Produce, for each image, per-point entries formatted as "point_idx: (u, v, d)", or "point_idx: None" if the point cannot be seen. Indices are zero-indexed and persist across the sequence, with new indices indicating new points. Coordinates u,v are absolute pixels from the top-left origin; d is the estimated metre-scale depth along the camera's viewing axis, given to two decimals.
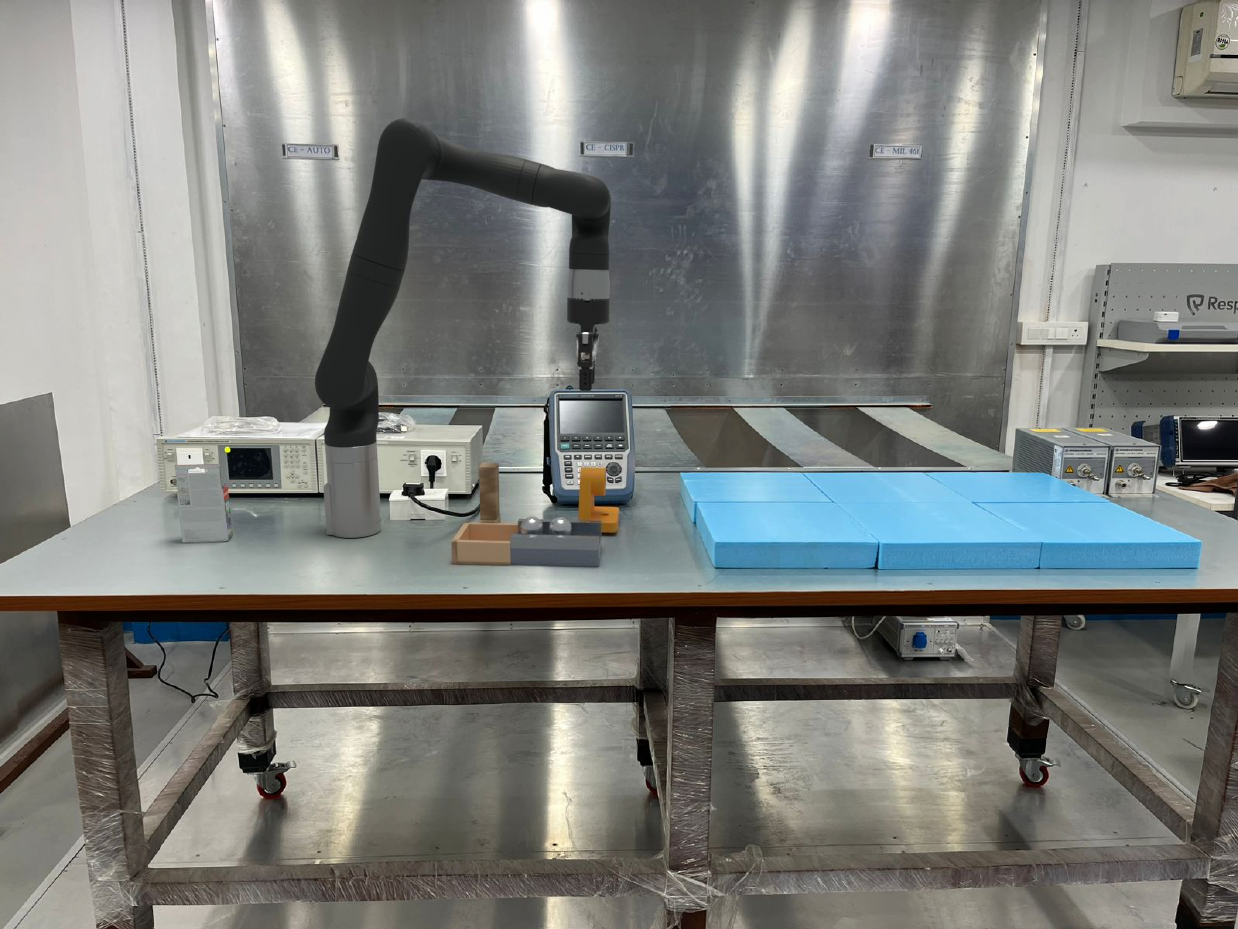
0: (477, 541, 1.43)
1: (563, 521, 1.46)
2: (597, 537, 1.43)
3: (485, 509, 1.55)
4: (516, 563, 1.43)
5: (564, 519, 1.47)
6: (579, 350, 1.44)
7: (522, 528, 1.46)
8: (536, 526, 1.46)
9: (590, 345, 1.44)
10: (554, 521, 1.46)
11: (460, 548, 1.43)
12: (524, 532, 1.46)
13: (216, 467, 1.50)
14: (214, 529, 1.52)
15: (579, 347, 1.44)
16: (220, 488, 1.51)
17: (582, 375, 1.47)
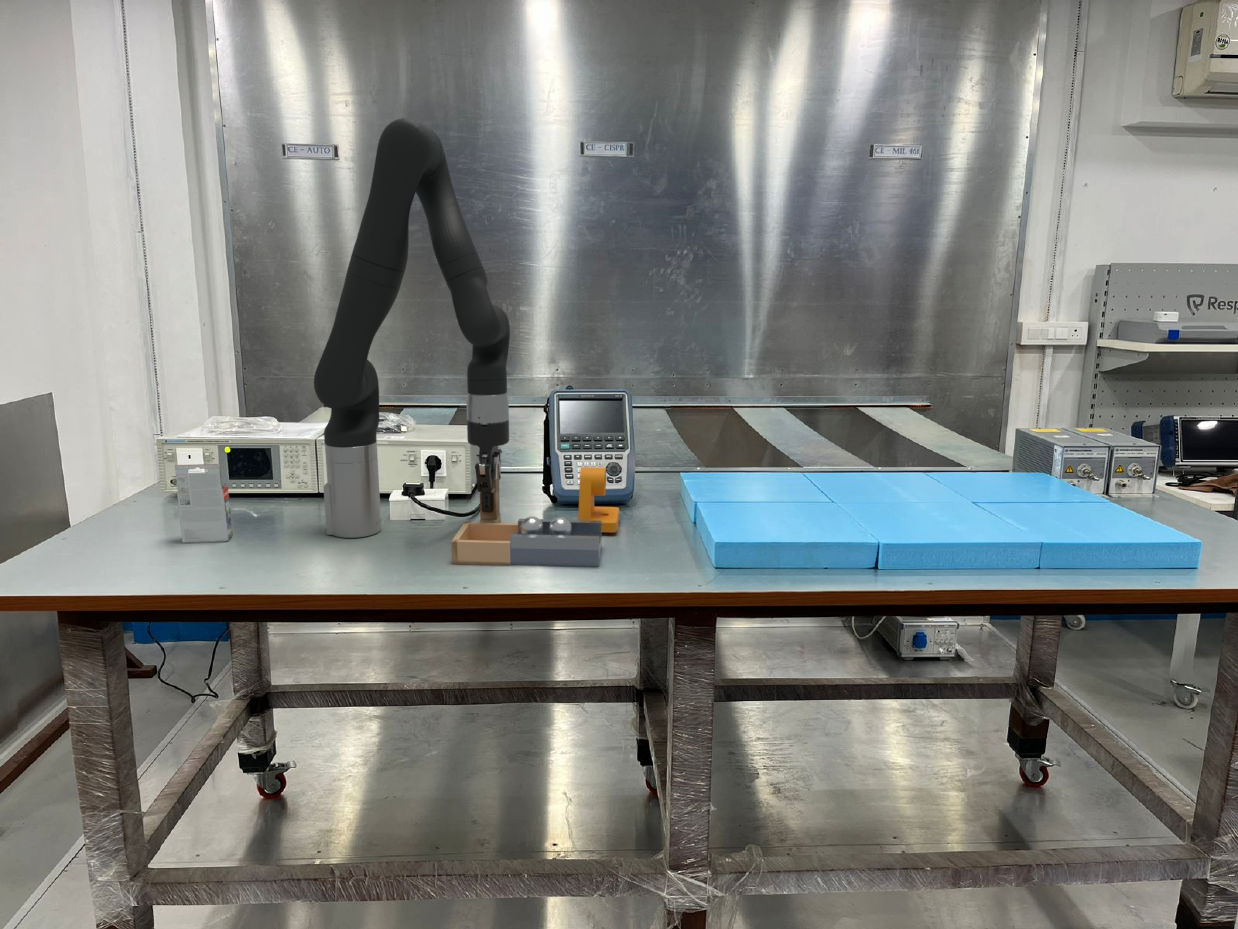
0: (477, 541, 1.43)
1: (563, 521, 1.46)
2: (597, 537, 1.43)
3: None
4: (516, 563, 1.43)
5: (564, 519, 1.47)
6: (478, 480, 1.49)
7: (522, 528, 1.46)
8: (536, 526, 1.46)
9: (488, 476, 1.49)
10: (554, 521, 1.46)
11: (460, 548, 1.43)
12: (524, 532, 1.46)
13: (216, 467, 1.50)
14: (214, 529, 1.52)
15: (477, 478, 1.49)
16: (220, 488, 1.51)
17: (483, 498, 1.53)
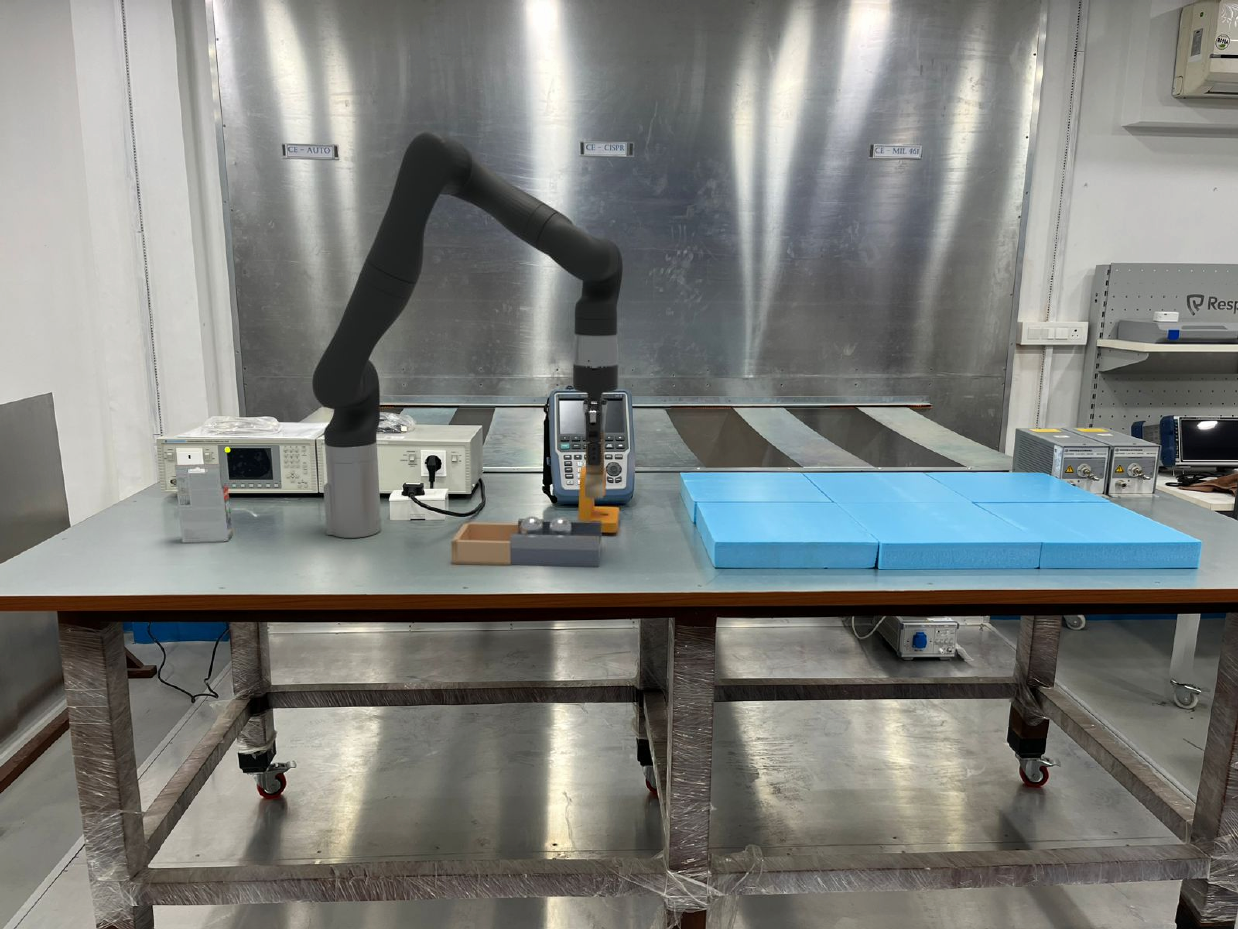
0: (477, 541, 1.43)
1: (563, 521, 1.46)
2: (597, 537, 1.43)
3: None
4: (516, 563, 1.43)
5: (564, 519, 1.47)
6: (587, 429, 1.37)
7: (522, 528, 1.46)
8: (536, 526, 1.46)
9: (598, 424, 1.37)
10: (554, 521, 1.46)
11: (460, 548, 1.43)
12: (524, 532, 1.46)
13: (216, 467, 1.50)
14: (214, 529, 1.52)
15: (587, 426, 1.37)
16: (220, 488, 1.51)
17: (590, 450, 1.41)
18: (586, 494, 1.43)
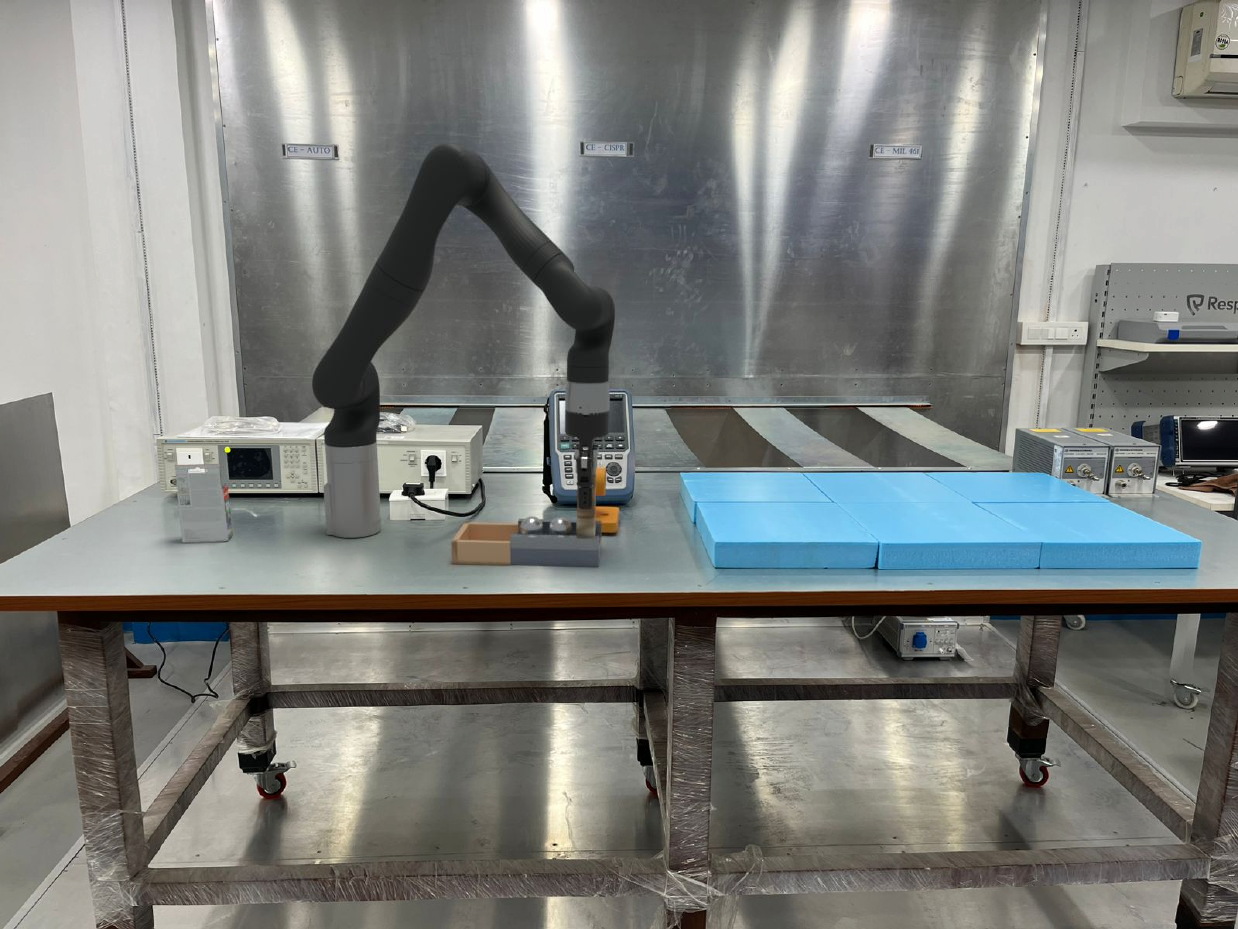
0: (477, 541, 1.43)
1: (563, 521, 1.46)
2: (597, 537, 1.43)
3: None
4: (516, 563, 1.43)
5: (564, 519, 1.47)
6: (578, 474, 1.39)
7: (522, 528, 1.46)
8: (536, 526, 1.46)
9: (589, 470, 1.39)
10: (554, 521, 1.46)
11: (460, 548, 1.43)
12: (524, 532, 1.46)
13: (216, 467, 1.50)
14: (214, 529, 1.52)
15: (578, 472, 1.39)
16: (220, 488, 1.51)
17: (582, 494, 1.43)
18: None
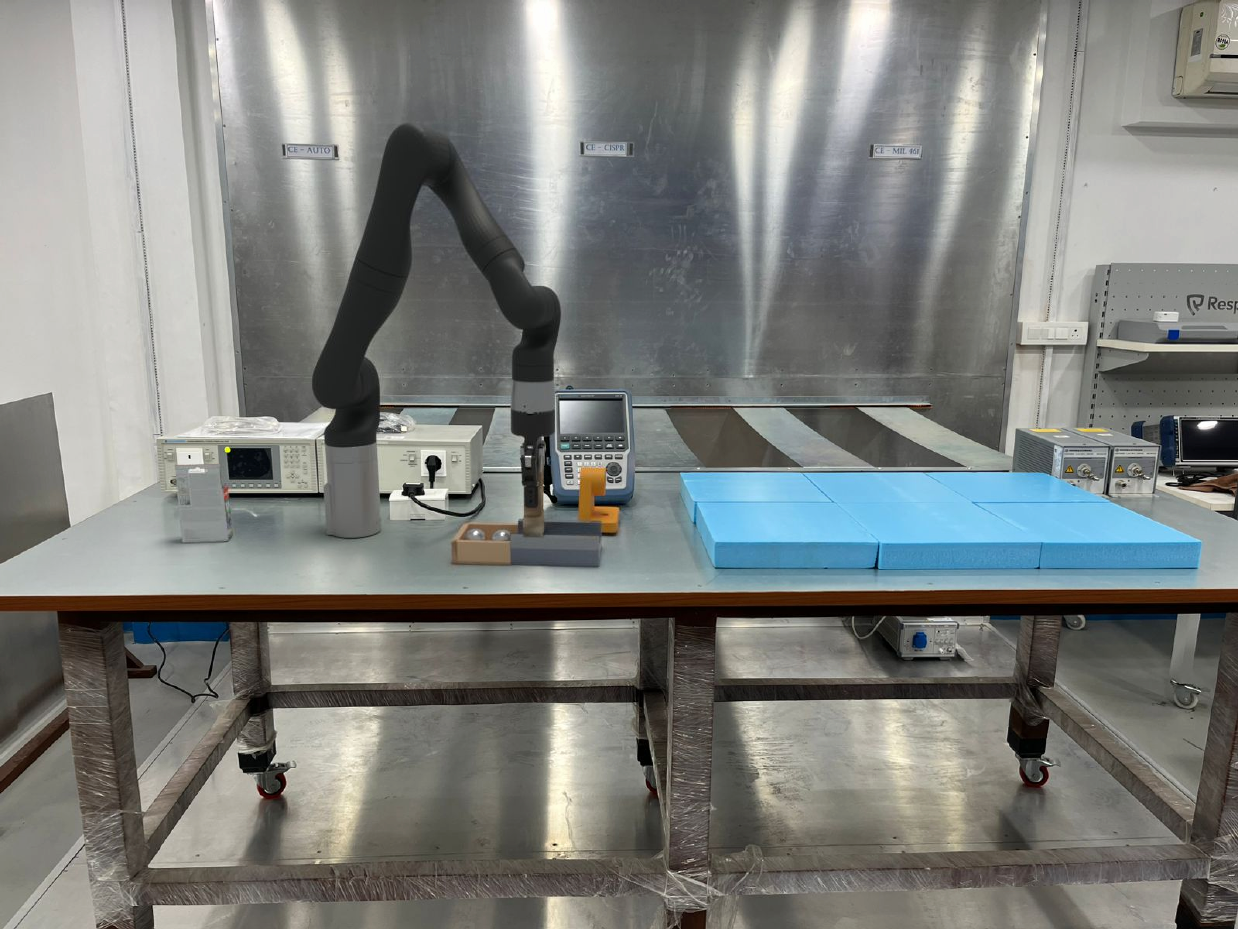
0: (477, 541, 1.43)
1: None
2: (597, 537, 1.43)
3: None
4: (516, 563, 1.43)
5: None
6: (523, 473, 1.39)
7: (469, 535, 1.47)
8: None
9: (533, 469, 1.39)
10: (506, 533, 1.47)
11: (460, 548, 1.43)
12: (468, 539, 1.47)
13: (216, 467, 1.50)
14: (214, 529, 1.52)
15: (522, 471, 1.39)
16: (220, 488, 1.51)
17: (527, 493, 1.43)
18: None
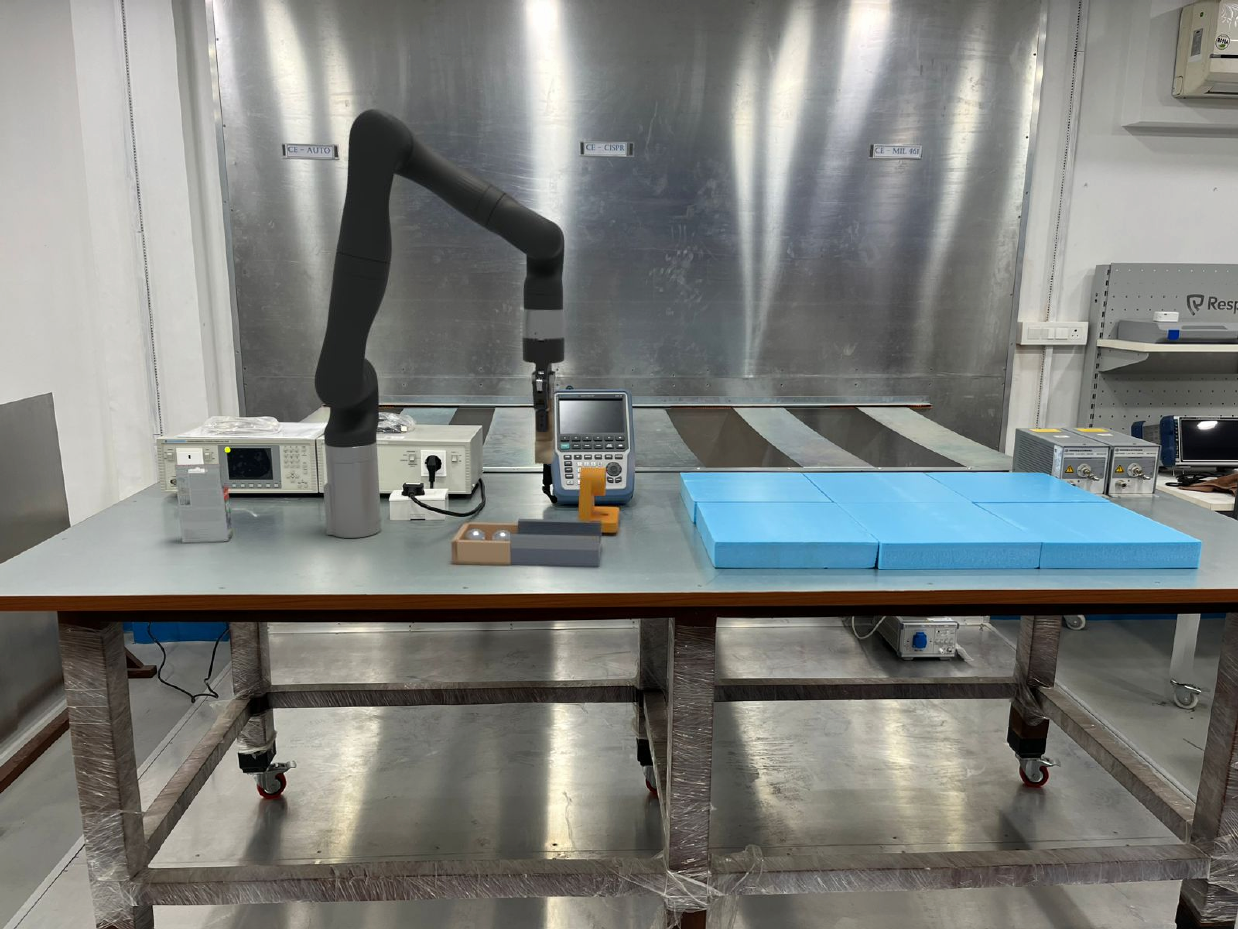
0: (477, 541, 1.43)
1: None
2: (597, 537, 1.43)
3: None
4: (516, 563, 1.43)
5: None
6: (534, 397, 1.47)
7: (469, 535, 1.47)
8: None
9: (544, 392, 1.47)
10: (506, 534, 1.47)
11: (460, 548, 1.43)
12: (468, 539, 1.47)
13: (216, 467, 1.50)
14: (214, 529, 1.52)
15: (534, 394, 1.47)
16: (220, 488, 1.51)
17: (539, 417, 1.51)
18: (536, 460, 1.53)
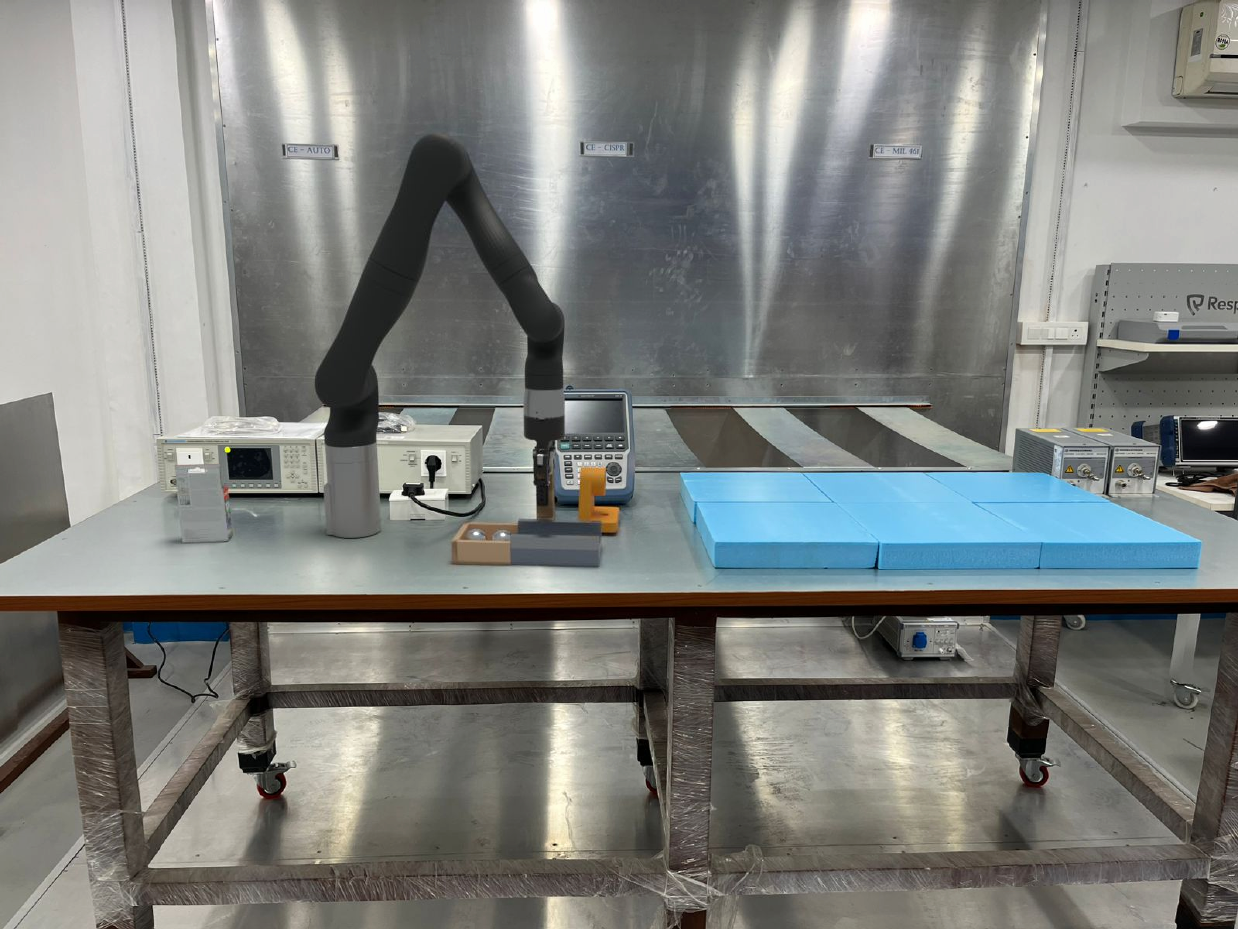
0: (477, 541, 1.43)
1: None
2: (597, 537, 1.43)
3: (541, 507, 1.56)
4: (516, 563, 1.43)
5: None
6: (534, 471, 1.50)
7: (470, 535, 1.47)
8: None
9: (545, 467, 1.49)
10: (506, 535, 1.47)
11: (460, 548, 1.43)
12: (468, 539, 1.47)
13: (216, 467, 1.50)
14: (214, 529, 1.52)
15: (534, 468, 1.50)
16: (220, 488, 1.51)
17: (539, 492, 1.53)
18: None
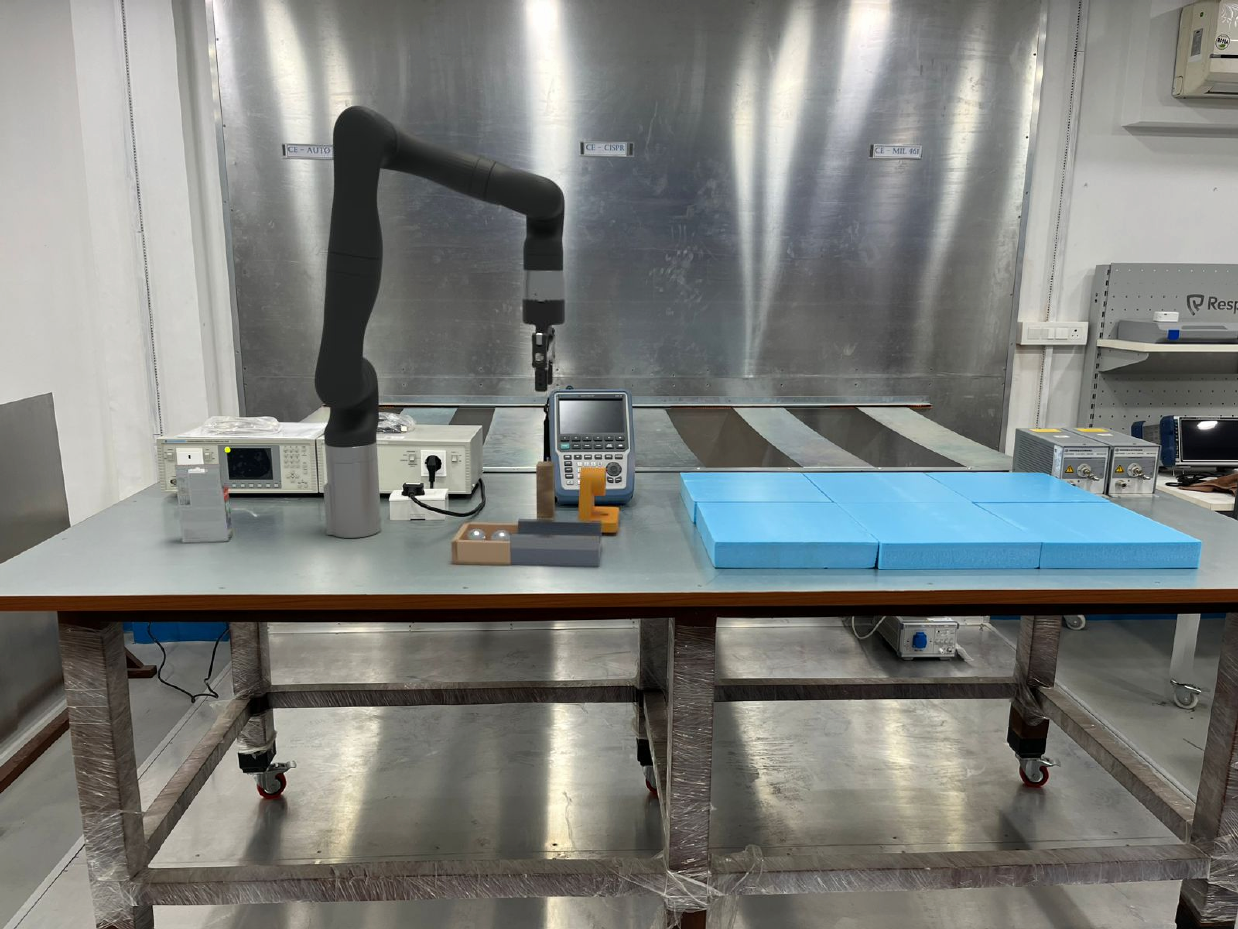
0: (477, 541, 1.43)
1: None
2: (597, 537, 1.43)
3: (541, 507, 1.56)
4: (516, 563, 1.43)
5: None
6: (533, 351, 1.44)
7: (471, 535, 1.47)
8: None
9: (544, 346, 1.44)
10: (505, 534, 1.47)
11: (460, 548, 1.43)
12: (469, 539, 1.47)
13: (216, 467, 1.50)
14: (214, 529, 1.52)
15: (533, 348, 1.44)
16: (220, 488, 1.51)
17: (537, 376, 1.47)
18: None
